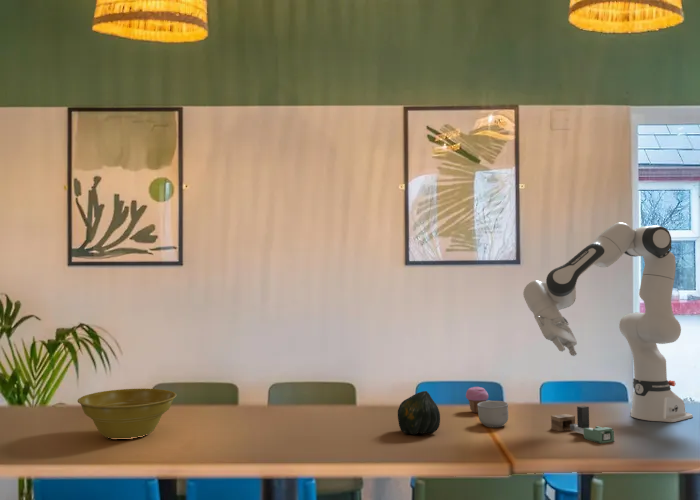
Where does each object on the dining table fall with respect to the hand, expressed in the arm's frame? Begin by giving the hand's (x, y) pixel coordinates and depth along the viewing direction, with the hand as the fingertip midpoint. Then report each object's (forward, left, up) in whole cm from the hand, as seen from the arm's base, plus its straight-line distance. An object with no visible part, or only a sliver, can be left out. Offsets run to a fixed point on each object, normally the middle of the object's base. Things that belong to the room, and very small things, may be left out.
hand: (568, 352), depth 223 cm
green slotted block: (+2, +16, -26) cm, 31 cm away
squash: (+50, -18, -27) cm, 60 cm away
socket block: (+2, -1, -26) cm, 26 cm away
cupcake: (+13, -37, -27) cm, 47 cm away
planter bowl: (+142, -57, -27) cm, 156 cm away
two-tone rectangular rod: (+2, +12, -25) cm, 28 cm away
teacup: (+20, -17, -27) cm, 38 cm away
